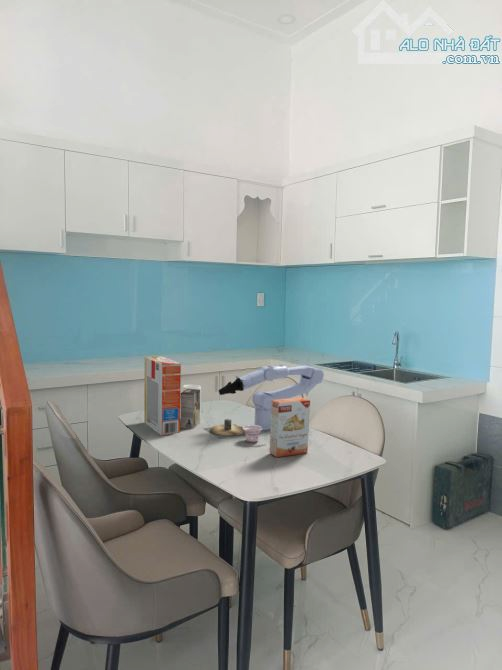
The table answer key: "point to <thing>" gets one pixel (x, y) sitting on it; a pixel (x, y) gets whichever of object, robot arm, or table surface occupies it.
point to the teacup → (252, 434)
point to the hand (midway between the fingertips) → (222, 391)
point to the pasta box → (162, 395)
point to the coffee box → (190, 408)
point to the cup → (196, 387)
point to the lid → (227, 429)
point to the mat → (219, 435)
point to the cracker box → (289, 426)
